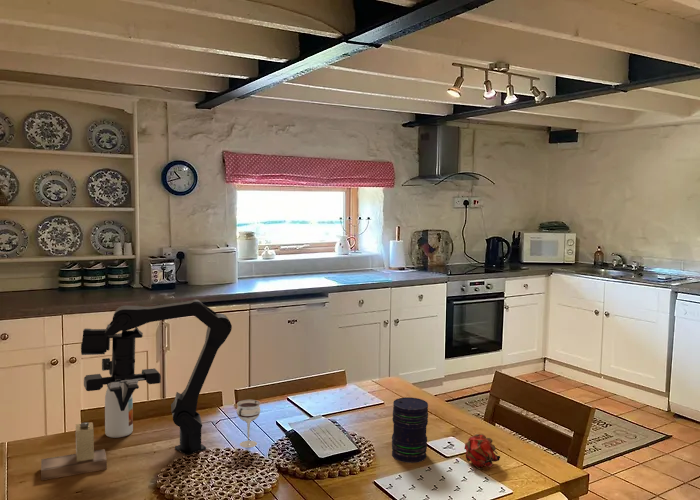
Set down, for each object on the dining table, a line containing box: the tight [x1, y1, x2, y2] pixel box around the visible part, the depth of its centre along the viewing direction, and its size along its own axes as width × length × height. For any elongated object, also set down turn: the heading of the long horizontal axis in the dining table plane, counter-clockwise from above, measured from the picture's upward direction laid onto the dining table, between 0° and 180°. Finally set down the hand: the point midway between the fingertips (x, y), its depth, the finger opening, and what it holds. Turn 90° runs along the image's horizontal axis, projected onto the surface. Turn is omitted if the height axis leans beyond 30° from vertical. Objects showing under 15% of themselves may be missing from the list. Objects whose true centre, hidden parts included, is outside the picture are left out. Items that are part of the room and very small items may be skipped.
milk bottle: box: [104, 374, 134, 439], centre depth 171 cm, size 8×8×20 cm
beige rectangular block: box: [75, 421, 95, 462], centre depth 150 cm, size 4×5×9 cm
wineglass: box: [236, 399, 261, 449], centre depth 166 cm, size 7×7×12 cm
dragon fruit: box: [464, 433, 501, 471], centre depth 157 cm, size 8×8×12 cm
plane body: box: [40, 448, 108, 481], centre depth 149 cm, size 15×7×2 cm, turn 117°
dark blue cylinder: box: [391, 396, 429, 464], centre depth 161 cm, size 10×10×15 cm
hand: (122, 410), depth 156 cm, fingers closed
